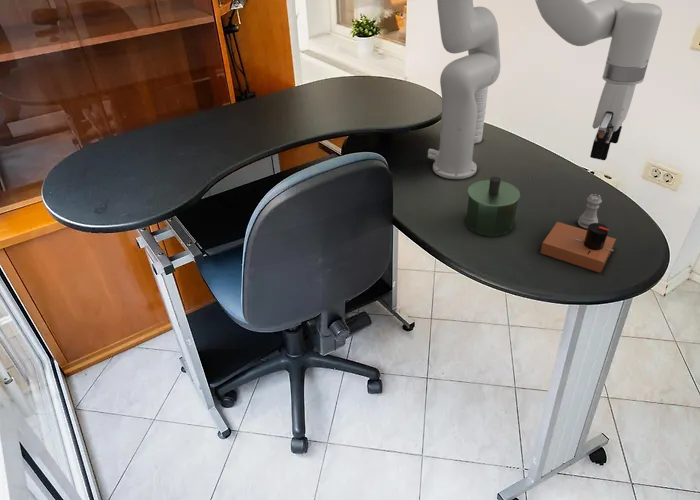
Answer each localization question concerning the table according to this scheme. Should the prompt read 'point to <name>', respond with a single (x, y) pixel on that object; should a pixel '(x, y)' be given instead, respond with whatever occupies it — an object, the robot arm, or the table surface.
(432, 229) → the table surface
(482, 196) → the pot lid
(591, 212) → the rook chess piece
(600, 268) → the knob base block
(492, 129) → the table surface
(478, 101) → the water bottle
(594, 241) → the stove knob
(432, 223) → the table surface
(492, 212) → the pot
